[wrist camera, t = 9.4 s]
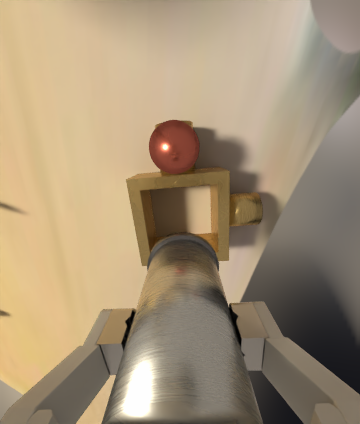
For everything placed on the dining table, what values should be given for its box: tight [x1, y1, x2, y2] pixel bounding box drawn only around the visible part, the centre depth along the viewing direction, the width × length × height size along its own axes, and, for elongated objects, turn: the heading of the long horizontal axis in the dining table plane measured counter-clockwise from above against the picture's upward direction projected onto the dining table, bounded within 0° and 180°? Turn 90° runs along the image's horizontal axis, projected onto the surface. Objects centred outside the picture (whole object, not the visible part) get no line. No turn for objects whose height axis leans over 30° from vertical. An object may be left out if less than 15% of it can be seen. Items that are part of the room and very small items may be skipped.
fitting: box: [126, 120, 263, 266], centre depth 19 cm, size 14×15×6 cm
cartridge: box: [102, 232, 263, 424], centre depth 8 cm, size 5×5×9 cm
